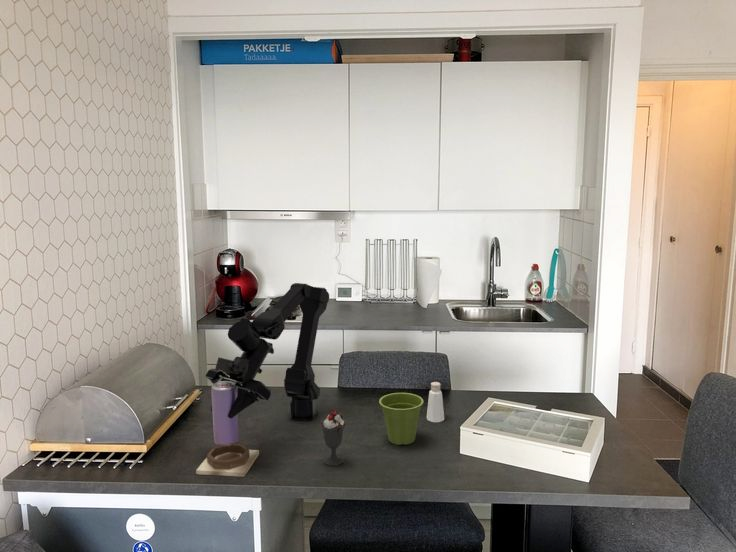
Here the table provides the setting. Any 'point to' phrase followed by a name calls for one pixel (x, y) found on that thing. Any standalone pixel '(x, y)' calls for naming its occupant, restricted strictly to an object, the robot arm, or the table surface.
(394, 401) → the plant pot
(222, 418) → the beverage can
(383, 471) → the table surface
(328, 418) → the sundae
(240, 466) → the board
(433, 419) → the salt shaker
